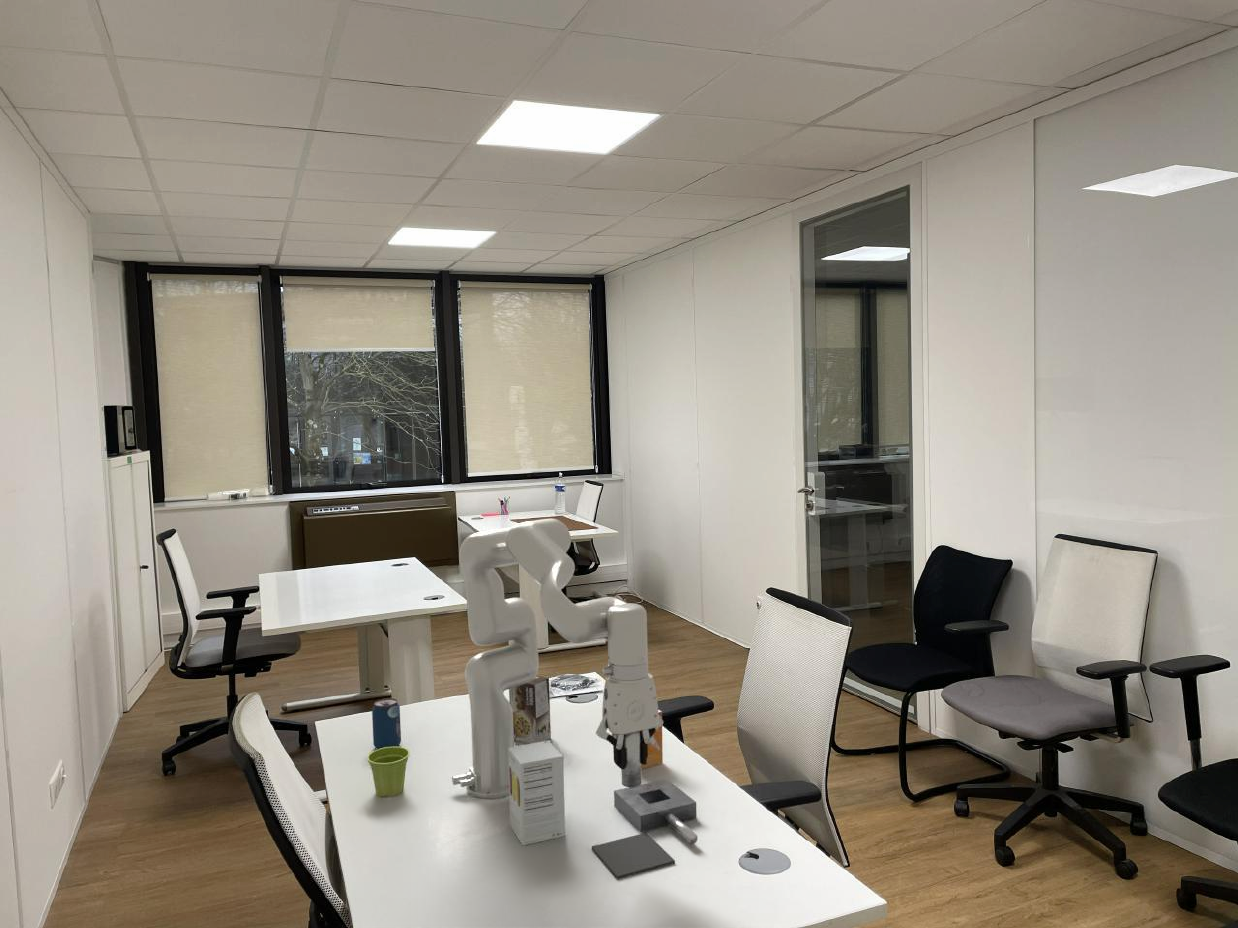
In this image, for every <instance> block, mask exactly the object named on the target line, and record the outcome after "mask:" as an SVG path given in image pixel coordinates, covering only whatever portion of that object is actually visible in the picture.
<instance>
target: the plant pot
mask: <svg viewBox="0 0 1238 928" xmlns="http://www.w3.org/2000/svg"><path fill="white" fill-rule="evenodd" d="M410 755H411V751H410V750H409V749H408V748H406V747H402V746H398V747H385V748H381V749H378V750H377V749H375V750H374V751H371V752H370V753H368V755H367V756H366V759H367V762H368V763H369V766H370V768H371V771H372V779H373V783H374V784H373V785H374V789H375V793H376V795H377V796H379V797H381V798H382V797H389V798H390V797H394V796H398V795H400V794H401V793H402V792H403V790H404V789H405V780H406V769H407V762H408V759H409V757H410Z"/></svg>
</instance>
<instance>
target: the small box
mask: <svg viewBox="0 0 1238 928" xmlns="http://www.w3.org/2000/svg"><path fill="white" fill-rule="evenodd" d="M658 714H659V716H660V717H661V719H662V720H663V711H662V710H660V709H658ZM663 762H664V761H663V724H662V725H661V726H660V727H659V728H658V729H657V730H656V731H655V733H654V734H653V735H652V737H651V738H650V742H649V743H648V757H647V764H645V765H643V764H641V770H643V769H646V768H650V767H654V766H657V765H661V764H663Z"/></svg>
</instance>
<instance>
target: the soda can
mask: <svg viewBox="0 0 1238 928" xmlns="http://www.w3.org/2000/svg"><path fill="white" fill-rule="evenodd" d="M371 715H372V718H371V719H372V720H371V721H372V739H373V741H372V743H373V747H374V748H375V750H378V749H381V748H385V747H400V745H401V742H402V731H401V727H402V726H401V708H400V705H399V703H398V700H397V698H396V699H395V698H391V697H389V698H387V697H386V698H381V699H378V700H376V701H374V704H373V706H372V709H371Z"/></svg>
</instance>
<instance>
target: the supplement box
mask: <svg viewBox="0 0 1238 928" xmlns="http://www.w3.org/2000/svg"><path fill="white" fill-rule="evenodd" d="M508 758H509V793H510V795H509V823H510V824H509V825H510V827H511V828H512V830H513V832H514V834H515V835H516V837H517V839H518V840H519V842H520V843H521V846H526V845H531V844H536V843H540V841H541V842H544V841H548V840H553V839H557V838H563V837H565V836H566V822H565V821H566V819H565V817H566V816H565V814H566V813H565V776H564V775H565V773H564V772H565V771H564V768H565V767H564V756H563V754H562V753H561V752H560V751H559V750H558V749H557V748H556V747H555V746H554V744H553V743H552V742H551V740H546V741H542V742H537V743H531V744H530V743H526V744H521V745H514V747H510V748H508Z"/></svg>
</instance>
